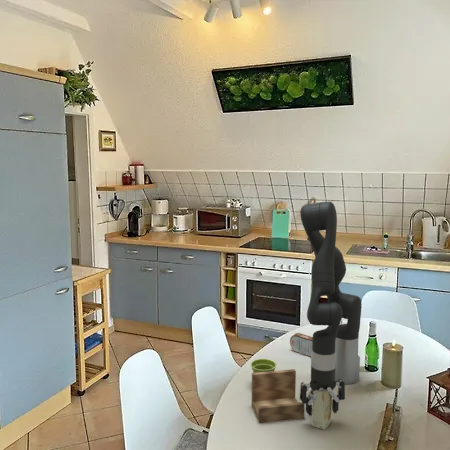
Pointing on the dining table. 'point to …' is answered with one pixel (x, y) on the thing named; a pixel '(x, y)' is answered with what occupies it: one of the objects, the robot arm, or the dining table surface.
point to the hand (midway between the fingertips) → (322, 413)
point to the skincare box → (322, 409)
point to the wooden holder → (275, 396)
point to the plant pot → (263, 365)
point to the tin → (301, 344)
